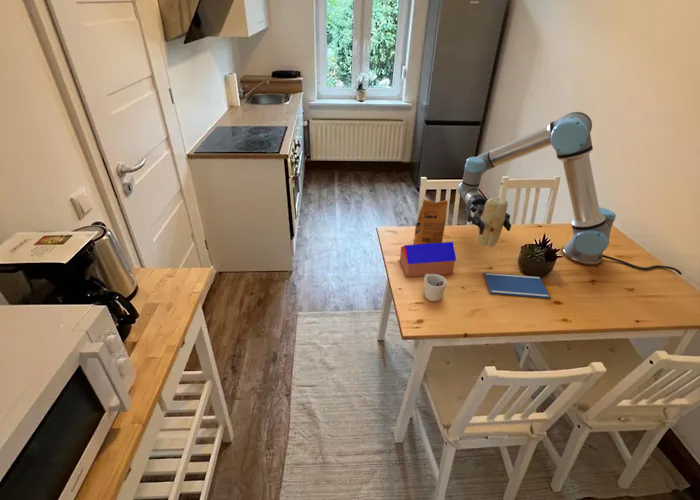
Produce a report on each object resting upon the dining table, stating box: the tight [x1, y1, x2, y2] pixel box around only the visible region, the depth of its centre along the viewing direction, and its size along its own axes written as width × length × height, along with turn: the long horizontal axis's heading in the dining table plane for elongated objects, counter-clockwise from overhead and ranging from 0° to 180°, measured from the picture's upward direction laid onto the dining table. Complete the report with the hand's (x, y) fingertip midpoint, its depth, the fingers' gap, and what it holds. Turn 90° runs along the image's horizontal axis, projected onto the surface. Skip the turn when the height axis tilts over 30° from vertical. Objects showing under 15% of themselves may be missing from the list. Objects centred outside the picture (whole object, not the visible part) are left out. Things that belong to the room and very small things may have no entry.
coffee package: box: [414, 199, 449, 245], centre depth 171 cm, size 10×12×22 cm
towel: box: [484, 272, 551, 300], centre depth 152 cm, size 22×13×1 cm, turn 84°
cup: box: [423, 274, 448, 302], centre depth 144 cm, size 11×8×8 cm
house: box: [399, 241, 457, 278], centre depth 158 cm, size 12×20×12 cm, turn 99°
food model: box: [477, 197, 509, 248], centre depth 150 cm, size 10×7×20 cm
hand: (496, 228), depth 146 cm, fingers closed on food model, 10 cm apart
